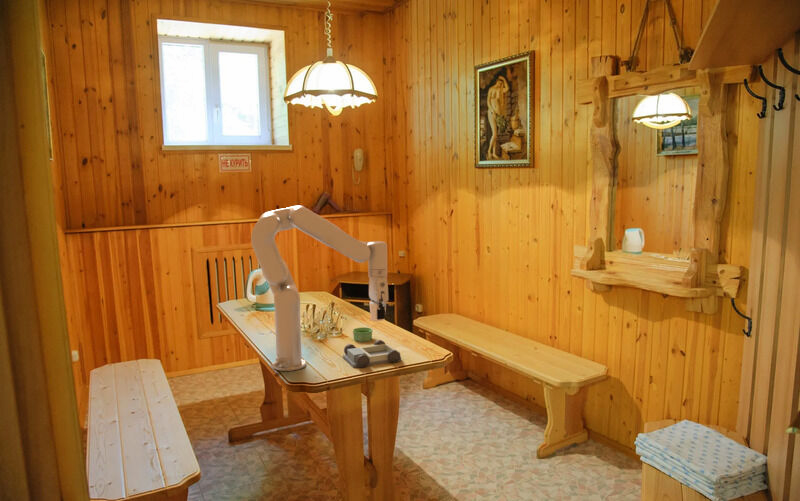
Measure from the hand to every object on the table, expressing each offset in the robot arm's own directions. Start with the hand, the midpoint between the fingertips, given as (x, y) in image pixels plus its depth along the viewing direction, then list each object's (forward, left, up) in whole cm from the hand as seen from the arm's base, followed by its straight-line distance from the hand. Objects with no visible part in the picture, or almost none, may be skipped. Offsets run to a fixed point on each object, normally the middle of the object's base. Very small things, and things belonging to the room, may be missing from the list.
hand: (377, 316), depth 222 cm
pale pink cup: (0, 0, -1) cm, 1 cm away
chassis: (-2, +2, -17) cm, 17 cm away
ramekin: (+22, +17, -17) cm, 33 cm away
